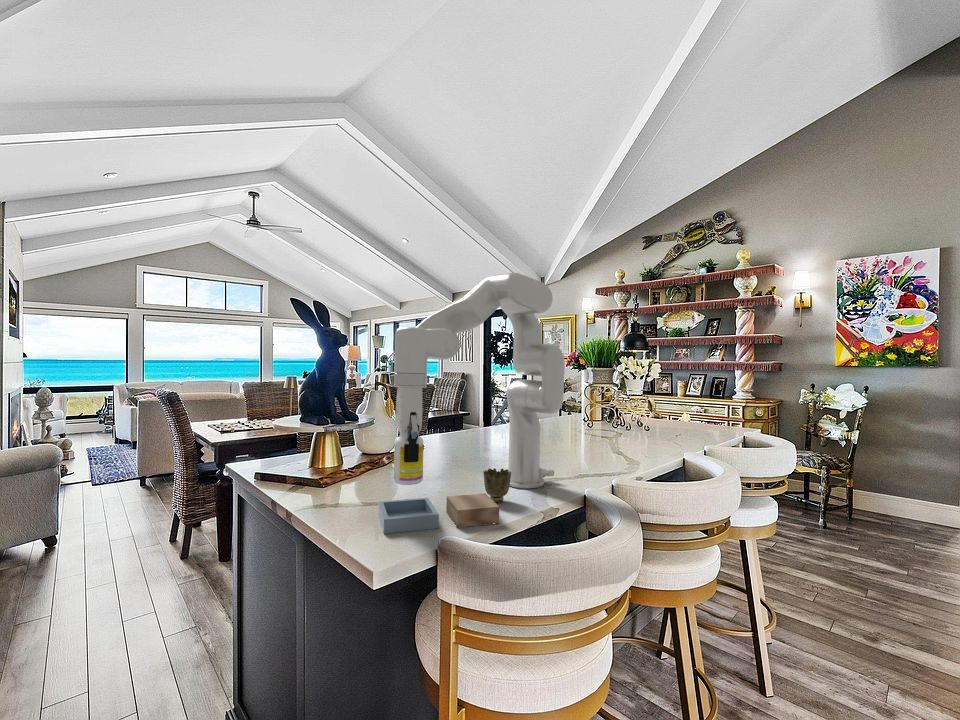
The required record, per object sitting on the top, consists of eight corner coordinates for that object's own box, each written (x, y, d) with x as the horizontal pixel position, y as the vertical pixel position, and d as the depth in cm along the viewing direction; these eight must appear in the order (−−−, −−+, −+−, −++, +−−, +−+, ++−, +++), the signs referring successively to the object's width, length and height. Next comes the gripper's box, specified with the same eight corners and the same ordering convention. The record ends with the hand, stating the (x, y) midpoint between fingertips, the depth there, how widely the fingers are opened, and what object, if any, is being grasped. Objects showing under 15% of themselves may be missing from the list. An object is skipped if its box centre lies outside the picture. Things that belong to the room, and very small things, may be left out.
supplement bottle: (428, 482, 102) (429, 426, 102) (404, 488, 98) (405, 430, 97) (411, 475, 107) (412, 422, 107) (388, 480, 102) (389, 425, 102)
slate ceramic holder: (427, 510, 110) (428, 497, 110) (438, 528, 99) (438, 514, 99) (378, 514, 106) (378, 501, 106) (383, 533, 95) (384, 519, 95)
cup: (480, 505, 115) (481, 474, 115) (484, 496, 122) (485, 467, 122) (509, 507, 114) (510, 475, 114) (511, 497, 121) (512, 468, 121)
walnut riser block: (484, 509, 111) (485, 493, 111) (498, 523, 102) (499, 506, 102) (446, 512, 108) (446, 496, 108) (457, 528, 99) (457, 510, 99)
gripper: (389, 378, 109) (387, 450, 109) (399, 383, 93) (397, 468, 93) (419, 378, 111) (417, 449, 112) (434, 383, 95) (432, 466, 95)
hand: (408, 457), depth 102 cm, fingers closed on supplement bottle, 6 cm apart
